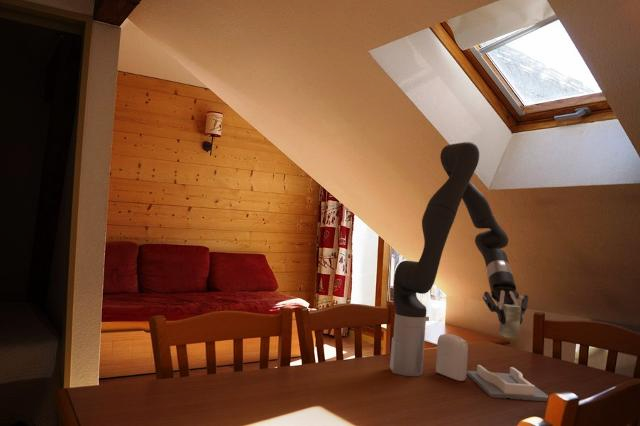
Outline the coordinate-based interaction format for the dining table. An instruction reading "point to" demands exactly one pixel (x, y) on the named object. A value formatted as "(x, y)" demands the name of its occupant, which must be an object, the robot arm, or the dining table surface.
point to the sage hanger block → (511, 321)
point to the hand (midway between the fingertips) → (511, 323)
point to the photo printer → (452, 356)
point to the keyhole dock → (506, 385)
